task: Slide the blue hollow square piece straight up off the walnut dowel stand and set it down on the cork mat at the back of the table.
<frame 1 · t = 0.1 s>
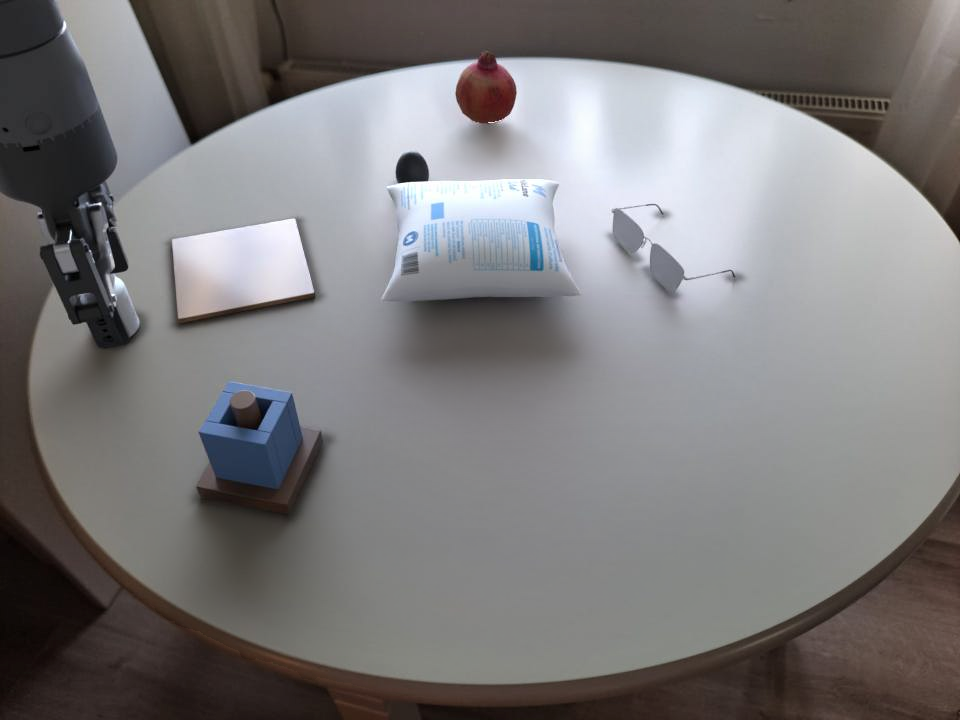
hand: (115, 305, 60), 16 cm above the table, tool pointing down, fingers open, 8 cm apart
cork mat: (241, 269, 89), on the table
pill bottle: (118, 330, 82), on the table
eyeglasses: (669, 255, 91), on the table
pouch: (477, 266, 90), on the table
dowel stand: (263, 468, 70), on the table
black rounded dome: (413, 188, 100), on the table
blue hollow square piece: (260, 457, 69), point 1 cm above the table, touching dowel stand
fruit: (485, 123, 111), on the table
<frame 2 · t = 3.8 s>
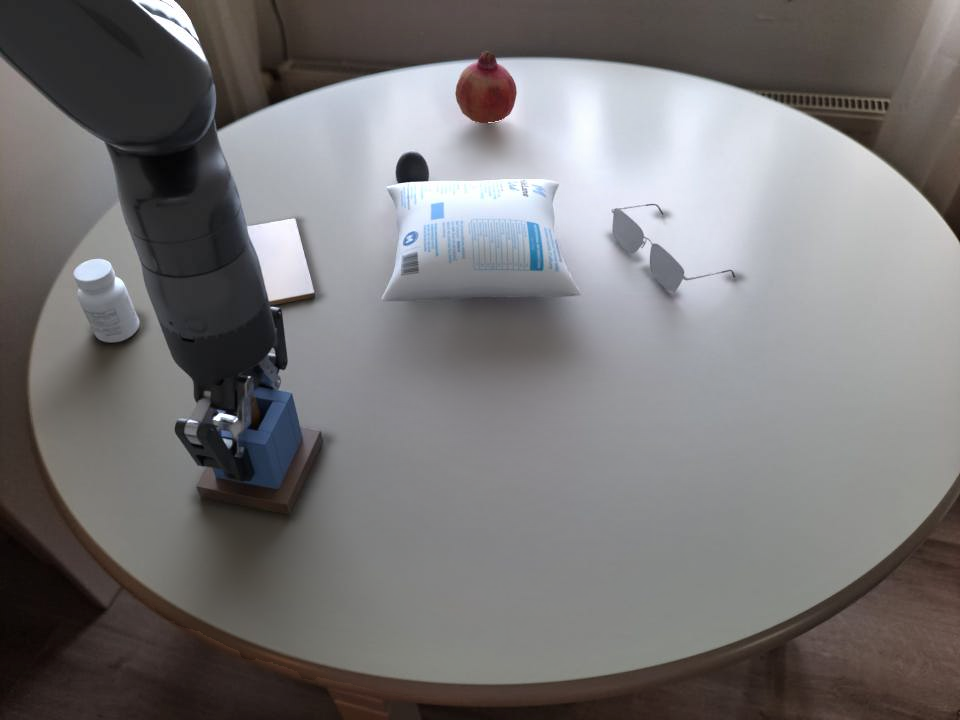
hand: (256, 446, 68), 3 cm above the table, tool pointing down, fingers closed on blue hollow square piece, 5 cm apart
blue hollow square piece: (260, 457, 69), point 2 cm above the table, touching dowel stand, gripper
everything else where it was.
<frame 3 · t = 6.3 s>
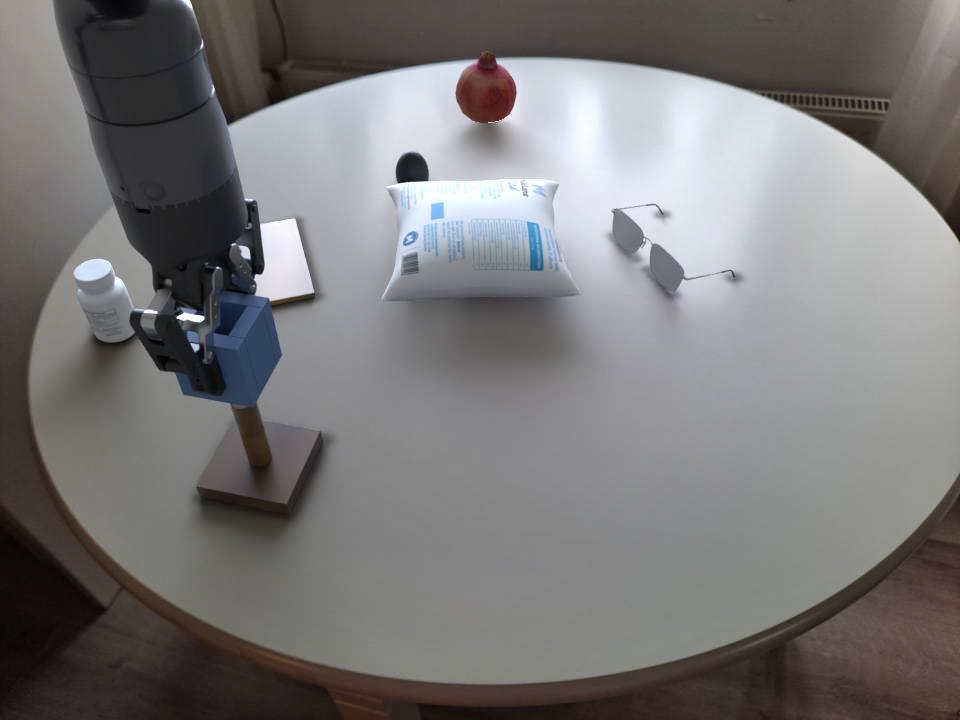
hand: (229, 360, 60), 13 cm above the table, tool pointing down, fingers closed on blue hollow square piece, 5 cm apart
blue hollow square piece: (234, 374, 61), point 12 cm above the table, touching gripper
everything else where it was.
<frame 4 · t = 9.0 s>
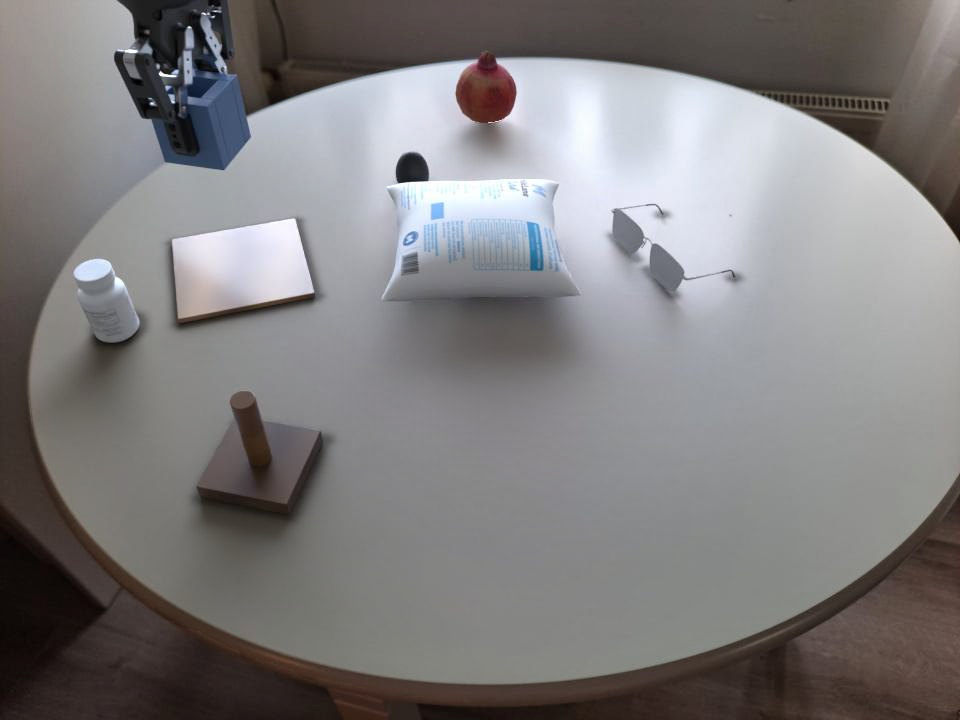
hand: (204, 134, 70), 20 cm above the table, tool pointing down, fingers closed on blue hollow square piece, 5 cm apart
blue hollow square piece: (209, 149, 72), point 18 cm above the table, touching gripper
everything else where it was.
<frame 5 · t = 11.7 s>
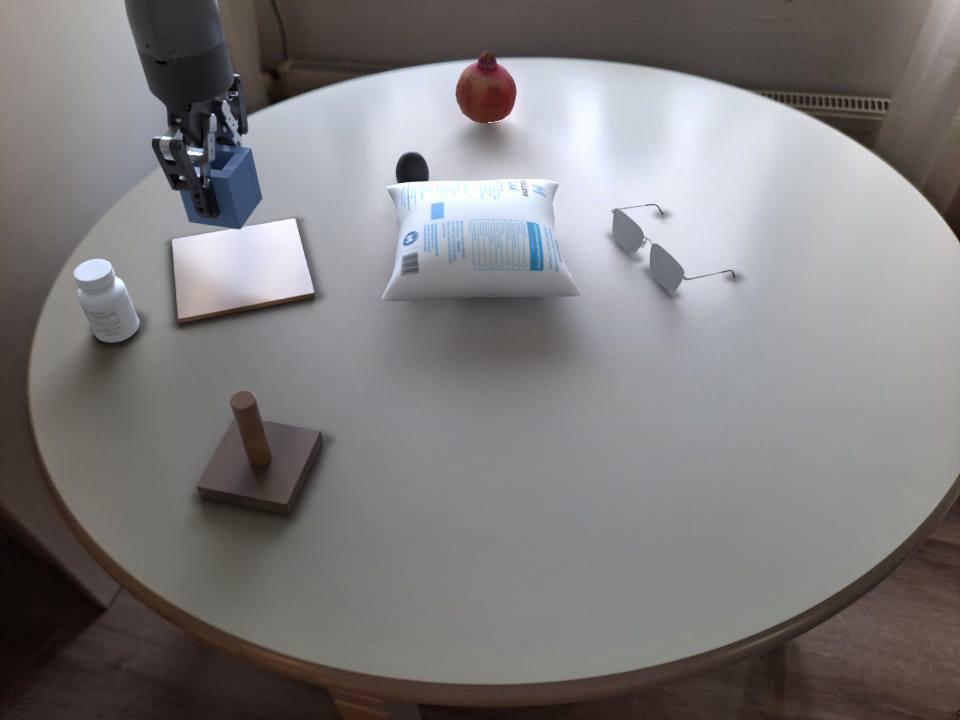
hand: (222, 197, 82), 9 cm above the table, tool pointing down, fingers closed on blue hollow square piece, 5 cm apart
blue hollow square piece: (226, 210, 83), point 8 cm above the table, touching gripper
everything else where it was.
when the fingers open (2 cm above the table, at t = 14.0 s): blue hollow square piece stays where it is, resting on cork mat.
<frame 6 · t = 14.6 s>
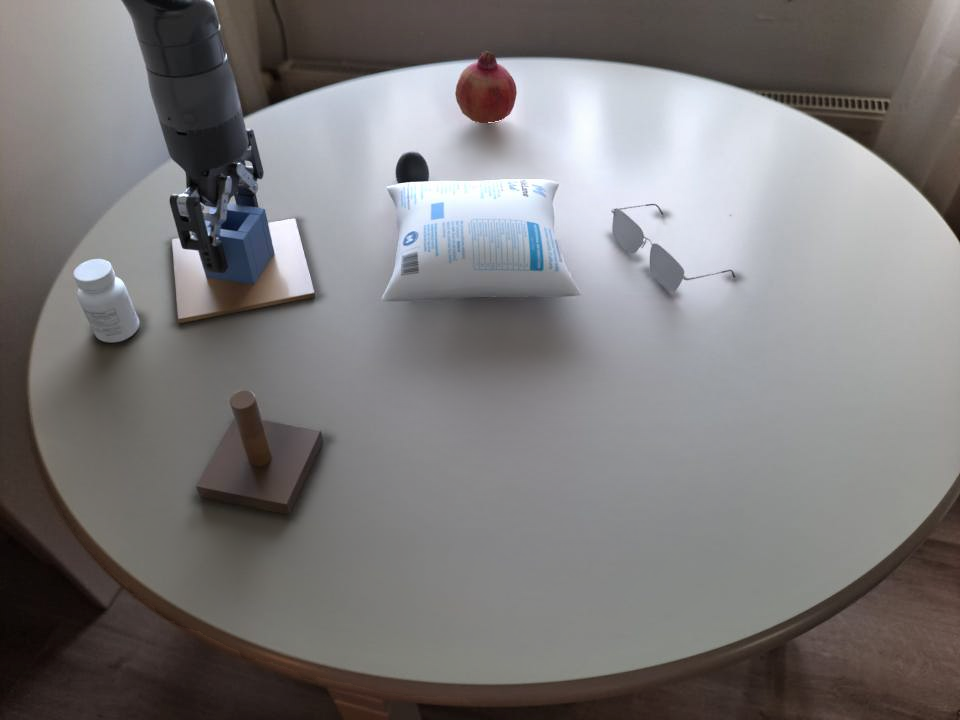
hand: (235, 245, 86), 3 cm above the table, tool pointing down, fingers open, 8 cm apart
blue hollow square piece: (240, 264, 88), point 1 cm above the table, touching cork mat
everything else where it was.
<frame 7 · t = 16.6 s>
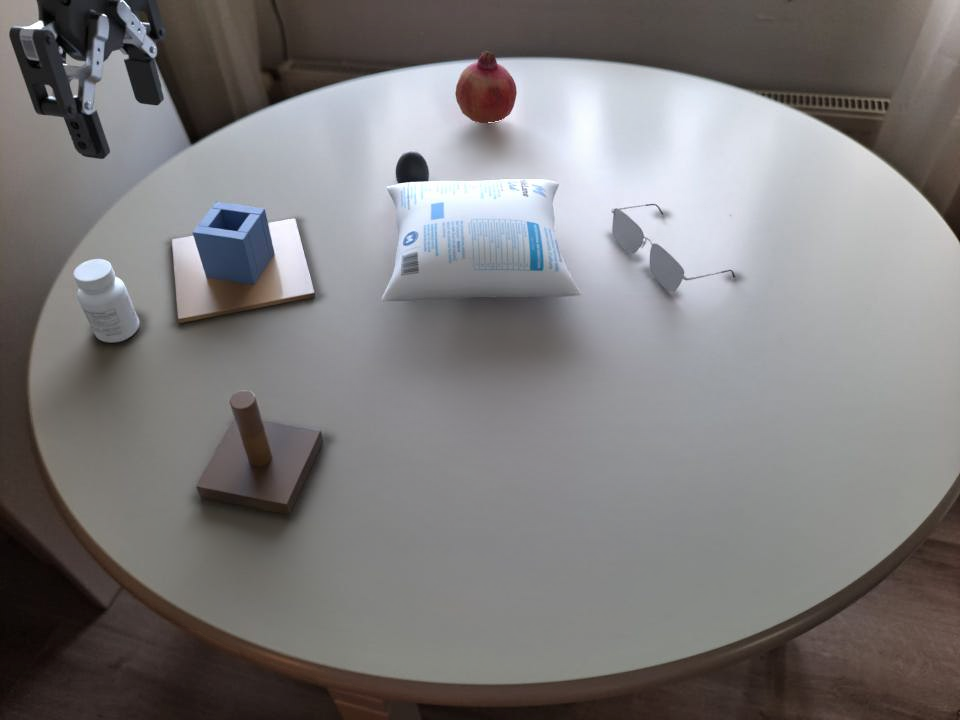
hand: (124, 128, 64), 24 cm above the table, tool pointing down, fingers open, 8 cm apart
nothing on the table moved.
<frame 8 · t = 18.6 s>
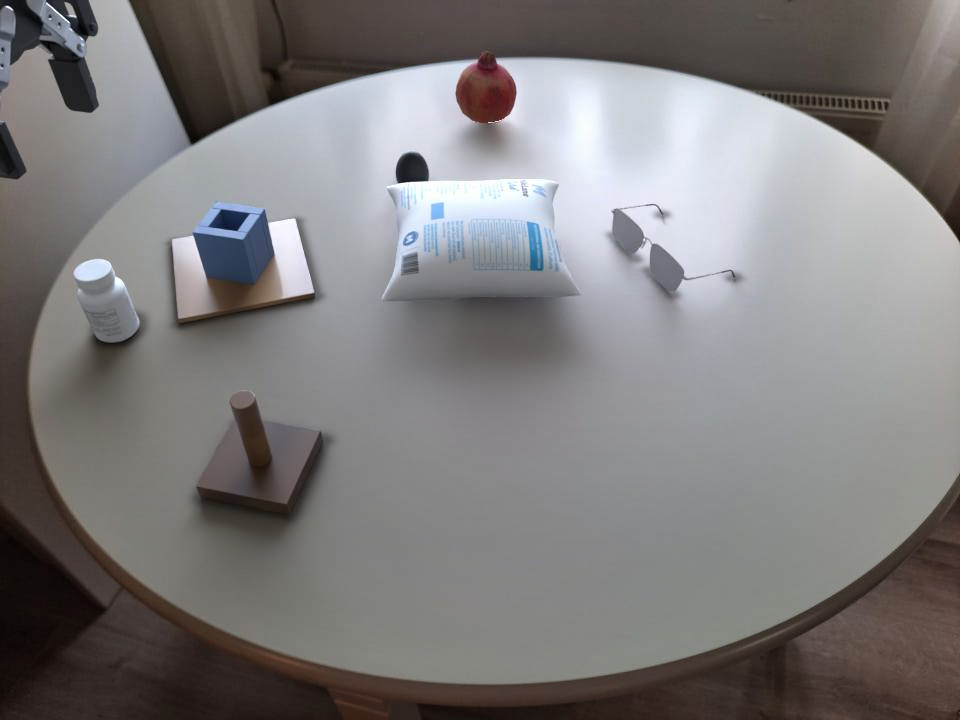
hand: (49, 140, 54), 28 cm above the table, tool pointing down, fingers open, 8 cm apart
nothing on the table moved.
at the end: blue hollow square piece inside the target area on the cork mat (0.1 cm from its centre), point 0.6 cm above the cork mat's base; blue hollow square piece tilted 0°; blue hollow square piece touching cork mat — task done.
